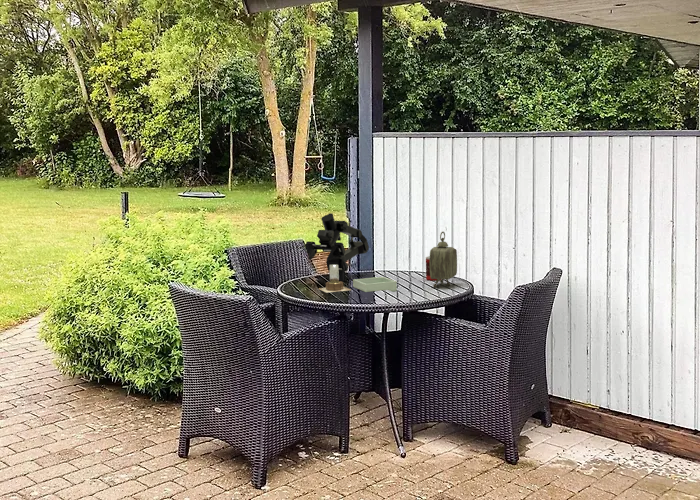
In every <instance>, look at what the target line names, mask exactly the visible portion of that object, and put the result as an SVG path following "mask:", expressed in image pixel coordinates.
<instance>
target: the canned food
mask: <svg viewBox="0 0 700 500" xmlns="http://www.w3.org/2000/svg"><path fill="white" fill-rule="evenodd" d="M425 278H426V280H427V281H429V282H431V281H432V282H434V281H435V282H436V281H437V279H431V278H430V255H428V256H426V257H425ZM439 281H441V279H440V280H439Z"/></svg>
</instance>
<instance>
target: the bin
mask: <svg viewBox="0 0 700 500" xmlns="http://www.w3.org/2000/svg"><path fill="white" fill-rule="evenodd" d="M397 282H398V281H396V280H394V279H391V278H389V277H388V278H387V277H385V276H377V277H366V278H356V279H352V285H353V286H352V287H353V288H354V289H357V290H359V291H362V292H365V293H369V292H379V291H390V292H393V293H394V292H398V289H397Z"/></svg>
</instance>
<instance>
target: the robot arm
mask: <svg viewBox="0 0 700 500" xmlns="http://www.w3.org/2000/svg"><path fill="white" fill-rule="evenodd" d="M321 221H322V225H323V228H324V229H318V231H317V235H316V237H317V238H318V240H319V241H318V243H319V244H316V242H315V241H306V243H305V244H304V245H305V249H306V251H307V254H308V260H309V261H312V259H313V258H315V256H316V254H318V250H319V251H321V250H322V252H324V253H325V252H326V253H327V252H328V253H329V254H328V255H327V258H326V261H325V262H326V268H327V271H328V272H330V265H332V264H337V265H338V269H339V281H341V282H343V283H344V282H346V272H348V270H349V265H348V263H347V262H348V261H349V260H351V259H353V258H354V257H356V256H357V255H363V254H367V252H368V251H369V249H370V247H369V242H368V239H367V238H366V236H364V235H363V232H362V230H361V229H358V228H356V227H354V226H350V225H349V223H348V222H347V221H346V220H335V217H334V214H333V213H328V214H326V215H323V216H322V217H321ZM341 234H344V235H347V236H349V237H350V240H349V246H350V247H349V248H346V249H345V245H344V243H343V242H341V240H342V238H341ZM354 238H358V239H359V240H360V241H354ZM338 241H340V242H338Z"/></svg>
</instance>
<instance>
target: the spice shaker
mask: <svg viewBox="0 0 700 500" xmlns="http://www.w3.org/2000/svg"><path fill="white" fill-rule="evenodd" d="M339 269H340V268H339ZM339 269H338V265H337V264H332V265H330V271H329V281H328V282H329V284H337V283H340V282H339Z"/></svg>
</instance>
